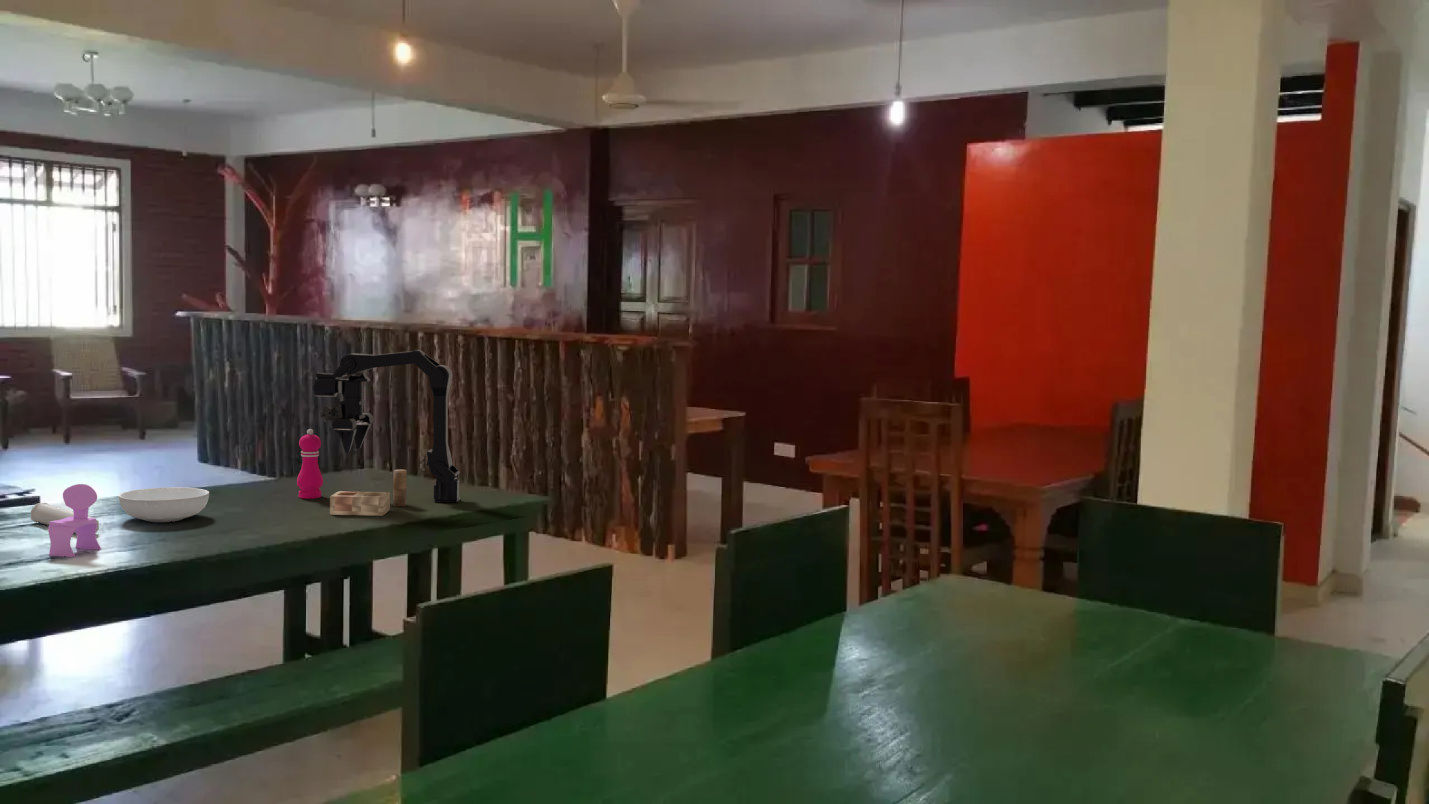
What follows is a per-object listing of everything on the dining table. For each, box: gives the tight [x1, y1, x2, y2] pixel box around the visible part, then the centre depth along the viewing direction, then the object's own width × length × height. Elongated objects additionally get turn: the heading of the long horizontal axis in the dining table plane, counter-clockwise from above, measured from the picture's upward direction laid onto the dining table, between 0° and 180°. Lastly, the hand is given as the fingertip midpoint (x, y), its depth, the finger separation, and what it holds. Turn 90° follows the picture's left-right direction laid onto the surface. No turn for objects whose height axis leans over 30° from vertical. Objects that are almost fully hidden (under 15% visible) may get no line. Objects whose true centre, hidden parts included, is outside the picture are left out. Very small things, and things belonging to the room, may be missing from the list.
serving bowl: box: [118, 486, 210, 523], centre depth 281 cm, size 21×21×7 cm
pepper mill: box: [296, 428, 324, 500], centre depth 318 cm, size 7×7×20 cm
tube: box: [30, 502, 100, 535], centre depth 265 cm, size 5×5×25 cm
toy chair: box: [47, 483, 102, 558], centre depth 242 cm, size 8×9×15 cm
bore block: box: [329, 490, 391, 517], centre depth 298 cm, size 14×8×5 cm, turn 94°
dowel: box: [392, 468, 408, 507], centre depth 310 cm, size 4×4×10 cm
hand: (352, 450), depth 316 cm, fingers open, 9 cm apart
